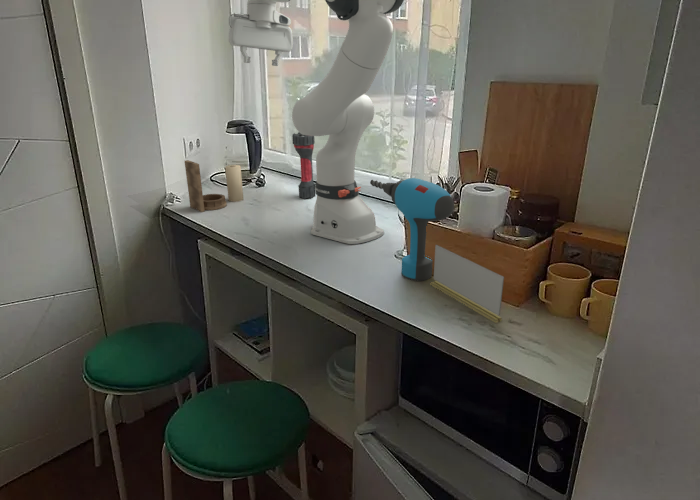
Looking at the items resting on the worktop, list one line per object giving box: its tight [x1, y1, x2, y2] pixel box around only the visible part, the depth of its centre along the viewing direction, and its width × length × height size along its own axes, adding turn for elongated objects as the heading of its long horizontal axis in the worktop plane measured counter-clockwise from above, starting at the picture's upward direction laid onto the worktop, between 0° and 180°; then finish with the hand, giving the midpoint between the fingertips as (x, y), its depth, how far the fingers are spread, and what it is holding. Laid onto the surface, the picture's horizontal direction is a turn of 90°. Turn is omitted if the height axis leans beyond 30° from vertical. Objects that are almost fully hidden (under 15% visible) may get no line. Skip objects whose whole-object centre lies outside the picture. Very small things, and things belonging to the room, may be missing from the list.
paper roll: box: [224, 164, 244, 203], centre depth 182 cm, size 5×5×12 cm
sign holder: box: [429, 244, 505, 324], centre depth 110 cm, size 21×2×10 cm, turn 31°
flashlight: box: [291, 131, 316, 200], centre depth 182 cm, size 8×8×23 cm
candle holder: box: [184, 159, 228, 213], centre depth 174 cm, size 10×11×16 cm
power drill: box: [369, 177, 455, 282], centre depth 123 cm, size 28×9×23 cm, turn 34°
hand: (261, 64), depth 162 cm, fingers open, 8 cm apart
